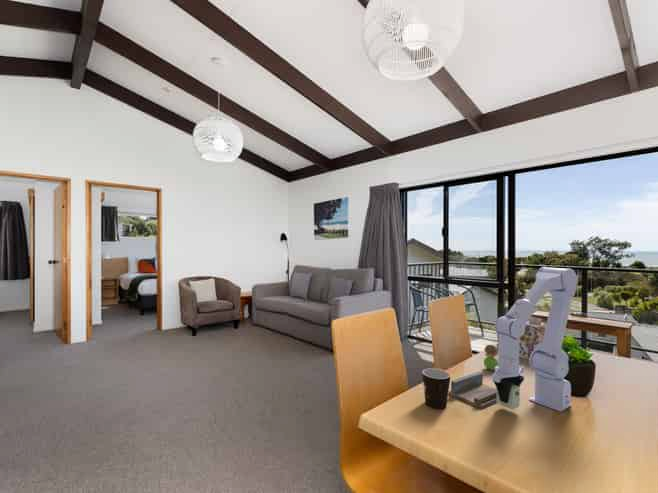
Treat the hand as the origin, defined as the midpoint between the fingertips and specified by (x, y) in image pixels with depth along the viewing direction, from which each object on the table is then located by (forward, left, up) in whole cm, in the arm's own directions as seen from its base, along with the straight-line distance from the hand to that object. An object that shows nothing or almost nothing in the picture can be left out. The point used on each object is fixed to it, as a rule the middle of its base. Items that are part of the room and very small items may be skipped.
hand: (507, 400), depth 105 cm
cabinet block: (0, 0, -2) cm, 2 cm away
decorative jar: (+20, -60, -4) cm, 63 cm away
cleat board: (+11, -2, -3) cm, 12 cm away
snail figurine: (+22, -29, -4) cm, 36 cm away
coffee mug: (+14, +17, -4) cm, 22 cm away
